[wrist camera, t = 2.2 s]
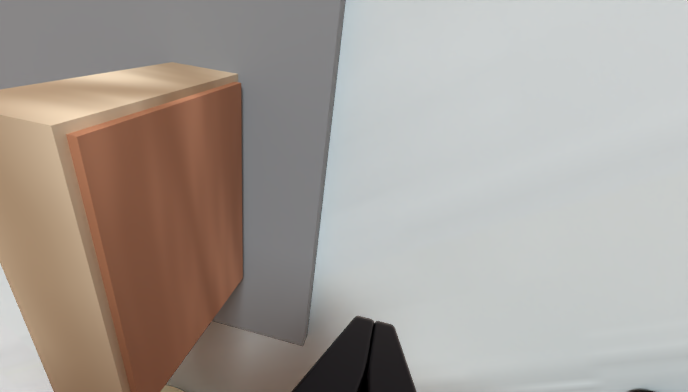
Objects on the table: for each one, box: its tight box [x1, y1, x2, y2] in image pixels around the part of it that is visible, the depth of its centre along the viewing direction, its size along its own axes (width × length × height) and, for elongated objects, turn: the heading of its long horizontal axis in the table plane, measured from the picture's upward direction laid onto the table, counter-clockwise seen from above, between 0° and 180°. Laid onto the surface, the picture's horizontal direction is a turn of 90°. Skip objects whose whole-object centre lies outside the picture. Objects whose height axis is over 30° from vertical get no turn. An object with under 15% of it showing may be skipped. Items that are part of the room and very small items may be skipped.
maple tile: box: [0, 62, 243, 392], centre depth 10 cm, size 2×8×6 cm, turn 172°
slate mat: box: [0, 0, 346, 346], centre depth 13 cm, size 16×14×1 cm
